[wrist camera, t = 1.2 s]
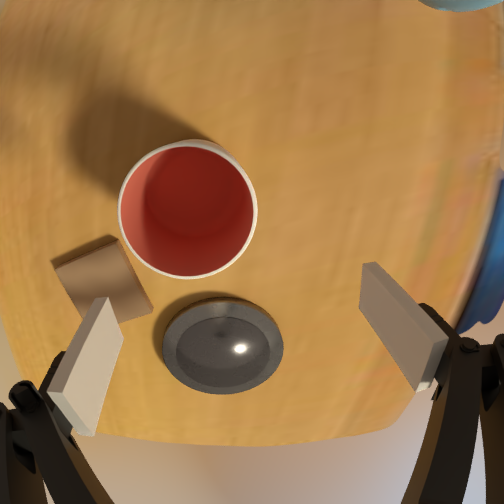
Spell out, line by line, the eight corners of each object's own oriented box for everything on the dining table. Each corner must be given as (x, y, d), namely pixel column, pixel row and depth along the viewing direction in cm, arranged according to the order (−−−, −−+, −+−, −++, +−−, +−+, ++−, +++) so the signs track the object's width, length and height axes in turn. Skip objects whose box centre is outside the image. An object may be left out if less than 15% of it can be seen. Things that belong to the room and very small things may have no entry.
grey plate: (152, 302, 34) (149, 310, 33) (280, 290, 35) (284, 298, 34) (176, 389, 40) (175, 398, 38) (280, 380, 41) (283, 388, 40)
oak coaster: (58, 265, 31) (54, 269, 30) (118, 239, 31) (115, 243, 30) (94, 326, 35) (91, 331, 33) (153, 307, 34) (151, 312, 33)
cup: (230, 244, 33) (237, 291, 24) (138, 224, 31) (109, 264, 21) (256, 152, 29) (275, 162, 20) (157, 129, 27) (130, 129, 18)
